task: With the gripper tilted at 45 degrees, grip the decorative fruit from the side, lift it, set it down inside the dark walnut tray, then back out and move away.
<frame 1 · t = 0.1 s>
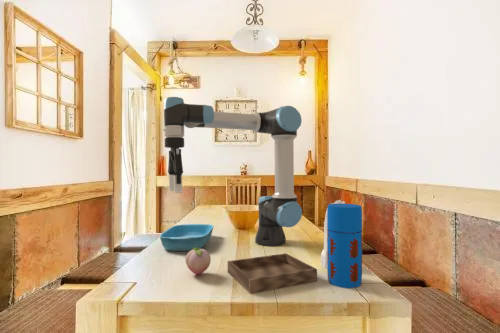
hand: (175, 191, 121), 28 cm above the table, tool pointing down, fingers open, 13 cm apart
decorative vase: (335, 266, 117), on the table
decorative fruit: (198, 275, 108), on the table
walnut tray: (270, 276, 106), on the table
thermos: (344, 282, 101), on the table
casserole dish: (188, 244, 151), on the table
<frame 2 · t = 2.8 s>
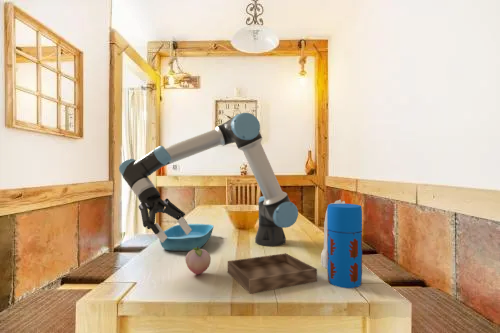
hand: (177, 236, 111), 13 cm above the table, tool tilted 45°, fingers open, 13 cm apart
nothing on the table moved.
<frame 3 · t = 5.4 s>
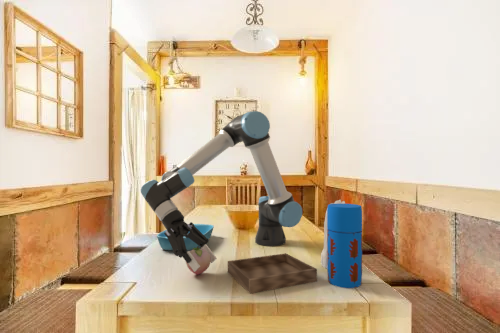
hand: (206, 264, 106), 4 cm above the table, tool tilted 45°, fingers open, 9 cm apart
decorative fruit: (198, 275, 108), on the table, touching gripper
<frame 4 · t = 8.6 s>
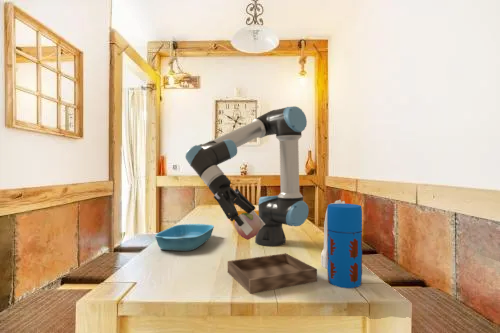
hand: (256, 229, 103), 17 cm above the table, tool tilted 45°, fingers closed on decorative fruit, 9 cm apart
decorative fruit: (248, 240, 105), point 13 cm above the table, touching gripper
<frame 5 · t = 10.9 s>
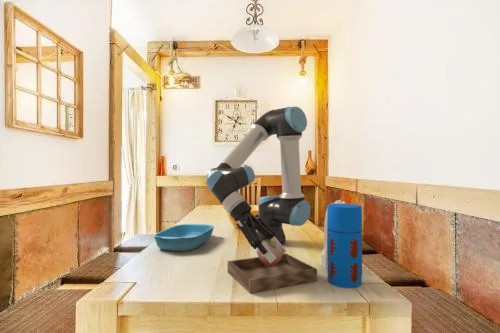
hand: (278, 256, 104), 7 cm above the table, tool tilted 45°, fingers closed on decorative fruit, 9 cm apart
decorative fruit: (270, 267, 106), point 3 cm above the table, touching gripper
when the fingers open (6 cm above the table, at t = 11.6 s): decorative fruit drops 1 cm, resting on walnut tray.
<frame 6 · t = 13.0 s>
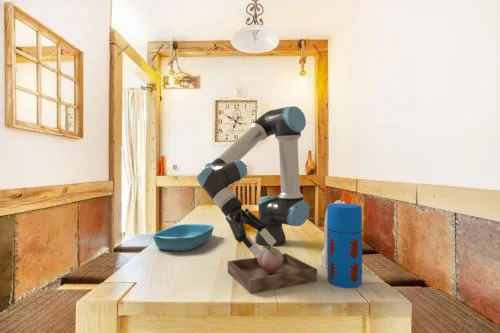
hand: (266, 249, 106), 9 cm above the table, tool tilted 45°, fingers open, 13 cm apart
decorative fruit: (270, 273, 106), point 1 cm above the table, touching walnut tray
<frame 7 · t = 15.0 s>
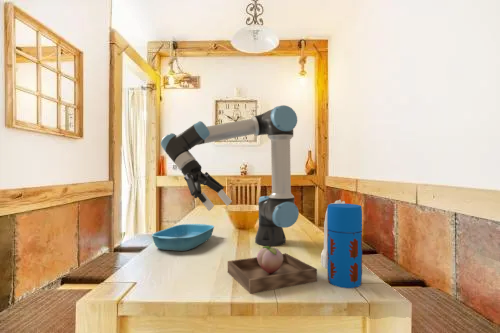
hand: (221, 205, 117), 23 cm above the table, tool tilted 45°, fingers open, 13 cm apart
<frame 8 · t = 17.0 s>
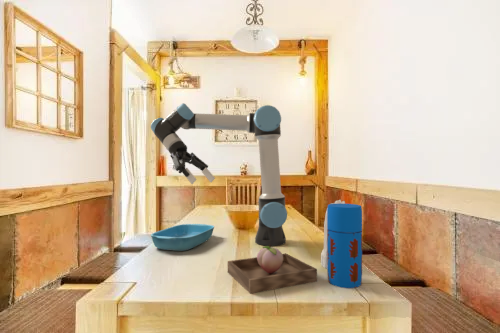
hand: (203, 181, 129), 32 cm above the table, tool tilted 45°, fingers open, 13 cm apart
at the end: decorative fruit inside the target area on the walnut tray (0.3 cm from its centre), point 0.8 cm above the walnut tray's base; the gripper is holding nothing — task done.
